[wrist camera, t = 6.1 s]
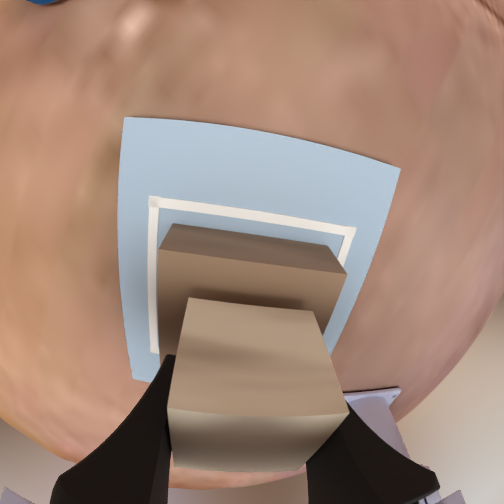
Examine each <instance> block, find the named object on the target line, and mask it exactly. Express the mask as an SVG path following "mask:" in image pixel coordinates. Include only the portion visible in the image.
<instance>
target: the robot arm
mask: <svg viewBox="0 0 504 504" xmlns="http://www.w3.org/2000/svg"><path fill="white" fill-rule="evenodd" d="M175 360H176V355H172V354H167V355H166V356H165V358H164V360H163V362H162V364H161V367H160V368H159V370H158V372H157V374H156V376H155V377H154V379H153V381H152V382H151V384H150V385H149V387H148V389H147V390H146V392H145V393H144V395H143V396H142V398H141V399H140V400H139V402H138V403H137V404H136V406H135V407H134V408H133V410H132V411H131V412H130V414H129V415H128V416H127V417H126V419H125V420H124V421H123V422H122V423H121V424H120V425H119V427H118V428H117V429H116V430H115V431H114V432H113V433H112V434H111V435H110V436H109V437H108V438H107V439H106V440H105V441H104V442H103V443H102V444H101V445H100V446H99V447H98V448H96V449H95V450H94V451H93V452H92V453H90V454H89V455H88V456H87V457H85V458H84V459H83V460H82V461H80V462H79V463H78V464H76V465H75V466H73V467H72V468H71V469H69V470H67V471H66V472H64V473H63V474H61V475H60V476H59V477H58V479H57V481H56V483H55V486H54V488H53V491H52V495H51V500H50V504H167V503H168V483H169V469H170V458H171V452H172V447H171V439H170V431H169V422H168V412H167V405H168V399H169V393H170V387H171V382H172V376H173V371H174V365H175ZM400 392H401V389H400V388H392V389H384V390H376V391H366V392H356V393H343V395H344V398H345V401H346V404H347V407H348V409H349V412H350V413H349V414H348V415H347V417H346V418H345V419H344V420H343V422H342V423H341V424H340V425H339V426H338V428H337V429H336V430H335V431H334V432H333V433H332V435H331V436H330V437H329V438H328V439H327V440H326V441H325V442H324V444H323V445H322V446H321V447H320V448H319V449H318V450H317V451H316V452H315V453H314V454H313V455H312V456H311V457H310V459H309V460H308V461H307V462H306V469H307V480H308V496H309V504H465V501H464V498H463V496H462V493H461V491H460V490H458V491H456V492H455V493H453V494H451V495H449V496H448V497H446V498H444V499H442V500H441V497H440V494H439V491H438V490H439V488H440V485H439V482H438V480H437V477H436V475H435V472H433V471H431V470H430V469H429V467H428V466H423V465H422V464H421V465H419V464H417V463H415V462H413V461H412V460H410V457H409V454H408V452H407V449H406V447H405V444H404V442H403V439H402V437H401V435H400V432H399V430H398V427H397V425H396V423H395V420H394V418H393V416H392V413H391V411H390V409H389V406H390V404H391V403H392V402H393V401H394V400H395V398H396V397H397V396H398V395H399V394H400ZM0 504H34V503H32V502H31V501H29V500H27V499H25V498H23V497H21V496H20V495H18V494H16V493H15V492H13V491H11V490H10V489H8V488H7V487H4V489H3V492H2V496H1V500H0Z"/></svg>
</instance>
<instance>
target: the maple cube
mask: <svg viewBox="0 0 504 504" xmlns="http://www.w3.org/2000/svg"><path fill="white" fill-rule="evenodd" d="M167 412H168V422H169V431H170V439H171V447H172V454H173V460H174V467H181V468H189V469H198V470H209V471H224V472H281V471H296V470H299V469H300V468H301V467H302V466H303V465H304V464H305V463H306V462H307V461H308V460H309V459H310V457H311V456H312V455H313V454H314V453H315V452H316V451H317V450H318V449H319V448H320V447H321V446H322V445H323V444H324V442H325V441H326V440H327V439H328V438H329V437H330V436H331V435H332V433H333V432H334V431H335V430H336V429H337V428H338V426H339V425H340V424H341V423H342V422H343V420H344V419H345V418H346V417H347V415H348V414H349V413H350V412H349V409H348V407H347V404H346V401H345V398H344V395H343V392H342V389H341V386H340V383H339V381H338V378H337V375H336V372H335V369H334V367H333V364H332V361H331V358H330V356H329V353H328V350H327V347H326V345H325V342H324V339H323V337H322V334H321V331H320V329H319V326H318V323H317V321H316V318H315V315H314V313H313V311H306V310H294V309H283V308H273V307H263V306H253V305H244V304H236V303H227V302H219V301H212V300H204V299H197V298H190V297H189V298H188V303H187V307H186V312H185V316H184V321H183V326H182V330H181V335H180V340H179V345H178V350H177V355H176V360H175V365H174V371H173V376H172V382H171V387H170V393H169V399H168V405H167Z"/></svg>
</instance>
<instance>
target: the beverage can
mask: <svg viewBox="0 0 504 504" xmlns="http://www.w3.org/2000/svg"><path fill="white" fill-rule="evenodd" d="M28 1H30V2H32V3H35V4H39V5H44V4H49V3H52V2H55V1H58V0H28Z"/></svg>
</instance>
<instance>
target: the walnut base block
mask: <svg viewBox="0 0 504 504" xmlns="http://www.w3.org/2000/svg"><path fill="white" fill-rule="evenodd" d="M346 277H347V273H346V271H345V270H344V268H343V267H342V265H341V264H340V262H339V261H338V260H337V258H336V257H335V255H334V254H333V252H332V251H331V250H330V248H329V247H328V246H326V245H320V244H314V243H307V242H301V241H294V240H288V239H281V238H275V237H268V236H261V235H254V234H248V233H241V232H234V231H227V230H219V229H212V228H205V227H198V226H190V225H183V224H176V223H173V224H172V226H171V227H170V229H169V231H168V233H167V234H166V236H165V238H164V240H163V241H162V243H161V245H160V247H159V249H158V286H157V294H158V337H159V357H160V367H161V364H162V362H163V360H164V358H165V356H166V355H167V354H172V355H177V350H178V345H179V340H180V335H181V330H182V326H183V321H184V316H185V312H186V307H187V303H188V298H189V297H190V298H197V299H204V300H212V301H219V302H227V303H236V304H244V305H253V306H263V307H273V308H283V309H294V310H306V311H313V313H314V315H315V318H316V321H317V323H318V326H319V329H320V331H321V334H322V336H323V334H324V332H325V330H326V327H327V325H328V323H329V320H330V318H331V315H332V313H333V311H334V308H335V306H336V303H337V301H338V298H339V296H340V293H341V290H342V288H343V285H344V283H345V280H346Z"/></svg>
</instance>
